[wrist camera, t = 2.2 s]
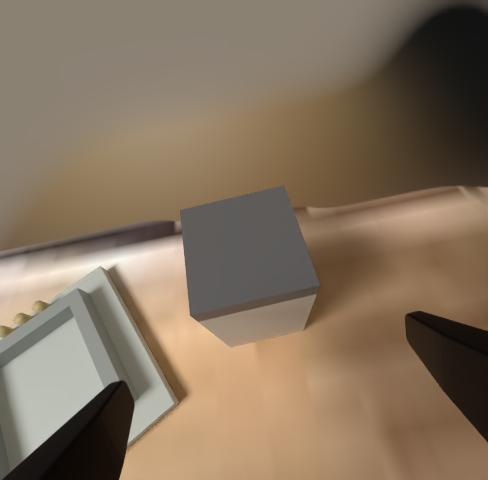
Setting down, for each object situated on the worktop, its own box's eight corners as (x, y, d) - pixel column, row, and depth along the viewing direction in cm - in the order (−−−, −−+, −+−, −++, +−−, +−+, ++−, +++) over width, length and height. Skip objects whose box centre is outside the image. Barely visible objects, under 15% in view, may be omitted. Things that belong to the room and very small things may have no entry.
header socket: (179, 402, 18) (165, 404, 16) (-8, 565, 15) (-55, 594, 13) (106, 270, 24) (89, 258, 22) (-39, 370, 21) (-75, 368, 19)
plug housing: (303, 330, 20) (320, 285, 11) (230, 347, 20) (190, 315, 11) (283, 264, 22) (284, 185, 14) (219, 279, 22) (180, 210, 14)
